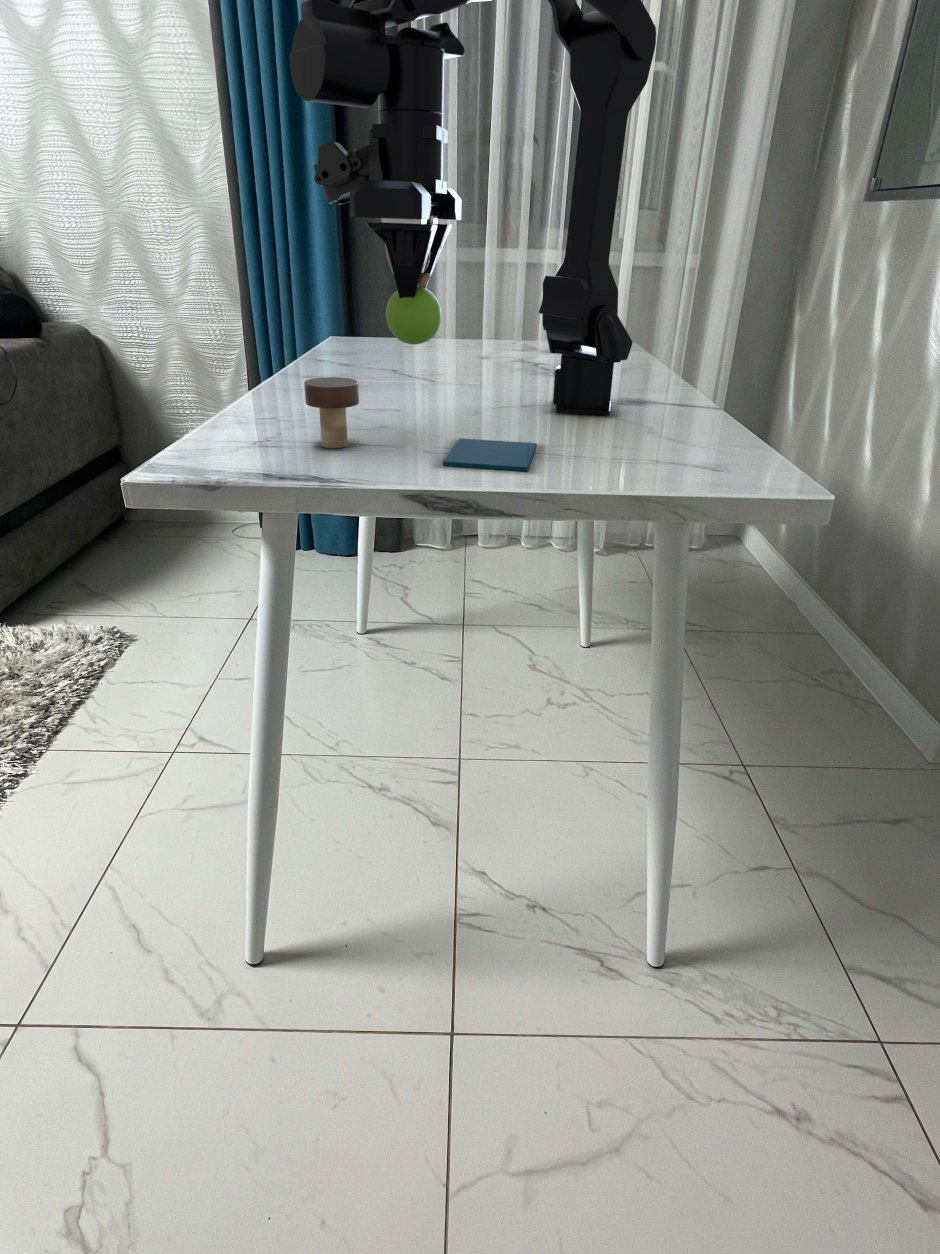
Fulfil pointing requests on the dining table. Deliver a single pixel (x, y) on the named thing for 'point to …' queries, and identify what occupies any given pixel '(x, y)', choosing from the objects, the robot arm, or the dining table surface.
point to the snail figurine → (414, 313)
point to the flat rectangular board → (491, 454)
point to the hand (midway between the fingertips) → (411, 303)
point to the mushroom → (332, 406)
